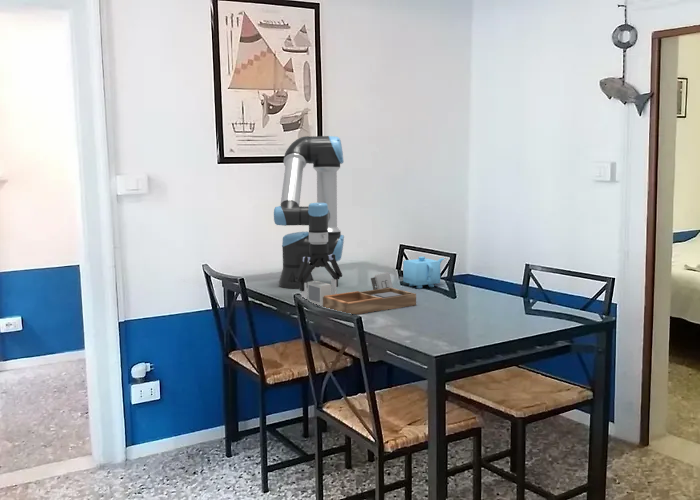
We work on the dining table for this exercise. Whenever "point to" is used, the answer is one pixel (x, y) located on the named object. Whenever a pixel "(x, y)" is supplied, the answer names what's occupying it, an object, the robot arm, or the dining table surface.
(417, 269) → the teapot
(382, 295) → the grey module
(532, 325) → the dining table surface
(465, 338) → the dining table surface
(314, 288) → the white block
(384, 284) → the electrical switch
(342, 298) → the wooden compartment tray
